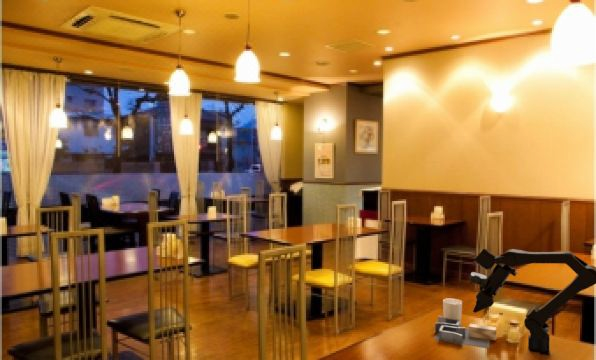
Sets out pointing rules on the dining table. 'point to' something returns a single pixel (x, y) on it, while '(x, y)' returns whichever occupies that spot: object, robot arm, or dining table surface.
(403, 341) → the dining table surface
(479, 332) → the wooden block
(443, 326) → the end cap
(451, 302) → the white cup
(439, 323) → the end cap
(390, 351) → the dining table surface
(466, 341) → the mat
